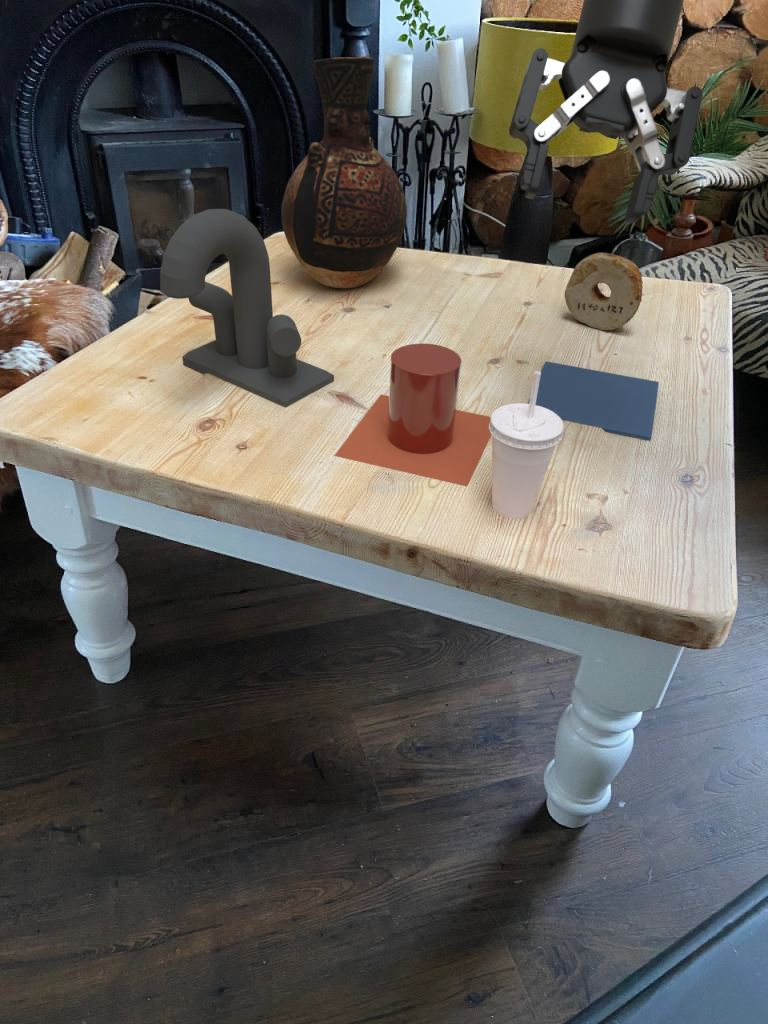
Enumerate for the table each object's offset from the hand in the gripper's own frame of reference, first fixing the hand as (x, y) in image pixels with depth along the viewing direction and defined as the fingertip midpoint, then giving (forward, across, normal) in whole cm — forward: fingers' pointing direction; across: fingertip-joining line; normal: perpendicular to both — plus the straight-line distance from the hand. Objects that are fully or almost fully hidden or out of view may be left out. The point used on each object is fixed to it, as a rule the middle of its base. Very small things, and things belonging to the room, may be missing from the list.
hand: (581, 208), depth 60 cm
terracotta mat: (+22, -8, +16) cm, 28 cm away
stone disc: (+2, +15, +45) cm, 47 cm away
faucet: (+21, -30, +26) cm, 44 cm away
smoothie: (+26, +2, +6) cm, 27 cm away
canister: (+21, -8, +16) cm, 28 cm away
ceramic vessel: (+2, -22, +57) cm, 61 cm away
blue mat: (+13, +12, +25) cm, 31 cm away
